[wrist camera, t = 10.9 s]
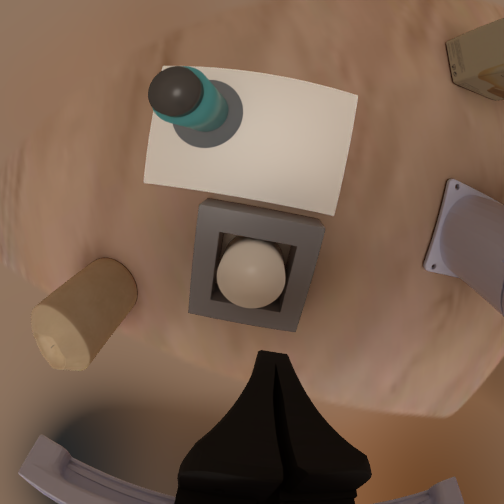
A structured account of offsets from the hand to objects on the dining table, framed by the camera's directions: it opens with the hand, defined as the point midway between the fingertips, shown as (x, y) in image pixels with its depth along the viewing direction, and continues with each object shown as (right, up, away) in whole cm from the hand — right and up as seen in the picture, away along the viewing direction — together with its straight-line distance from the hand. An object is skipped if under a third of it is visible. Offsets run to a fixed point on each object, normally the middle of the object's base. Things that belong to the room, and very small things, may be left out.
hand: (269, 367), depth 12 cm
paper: (-1, +13, +5) cm, 14 cm away
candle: (-13, +2, +10) cm, 17 cm away
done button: (-1, +5, +8) cm, 10 cm away
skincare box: (+19, +21, +1) cm, 28 cm away
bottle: (-4, +15, +4) cm, 16 cm away
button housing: (-1, +5, +8) cm, 10 cm away
